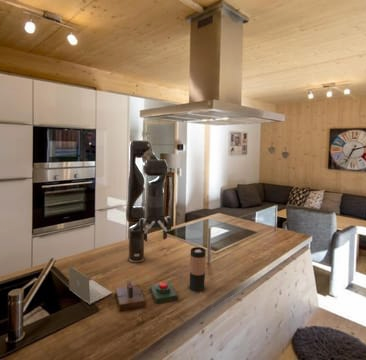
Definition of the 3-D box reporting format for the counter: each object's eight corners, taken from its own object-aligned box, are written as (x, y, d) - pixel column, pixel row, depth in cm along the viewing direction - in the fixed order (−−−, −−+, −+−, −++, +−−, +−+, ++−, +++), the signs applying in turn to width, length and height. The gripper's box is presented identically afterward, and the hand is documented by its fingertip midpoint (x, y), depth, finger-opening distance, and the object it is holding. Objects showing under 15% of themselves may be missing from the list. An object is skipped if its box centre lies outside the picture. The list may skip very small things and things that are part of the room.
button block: (150, 289, 139) (150, 282, 138) (169, 286, 142) (169, 279, 141) (156, 303, 128) (156, 295, 127) (177, 299, 131) (177, 291, 130)
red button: (158, 286, 135) (158, 282, 135) (165, 285, 137) (165, 281, 136) (160, 290, 132) (160, 286, 132) (167, 288, 133) (168, 285, 133)
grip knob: (127, 290, 132) (127, 281, 131) (130, 290, 132) (130, 280, 132) (129, 297, 126) (129, 287, 126) (132, 297, 127) (132, 287, 126)
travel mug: (186, 285, 143) (187, 248, 140) (200, 282, 146) (201, 246, 143) (193, 293, 137) (194, 254, 134) (207, 290, 140) (208, 251, 137)
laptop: (112, 294, 134) (112, 268, 132) (89, 305, 125) (88, 278, 123) (91, 280, 146) (91, 257, 144) (69, 290, 137) (68, 265, 135)
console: (116, 293, 135) (115, 287, 134) (138, 290, 138) (138, 284, 138) (119, 311, 121) (119, 304, 121) (144, 306, 125) (144, 300, 124)
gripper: (168, 202, 129) (167, 235, 132) (137, 203, 125) (137, 238, 127) (173, 205, 122) (172, 241, 125) (141, 207, 118) (141, 244, 120)
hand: (155, 239), depth 126 cm, fingers open, 8 cm apart
